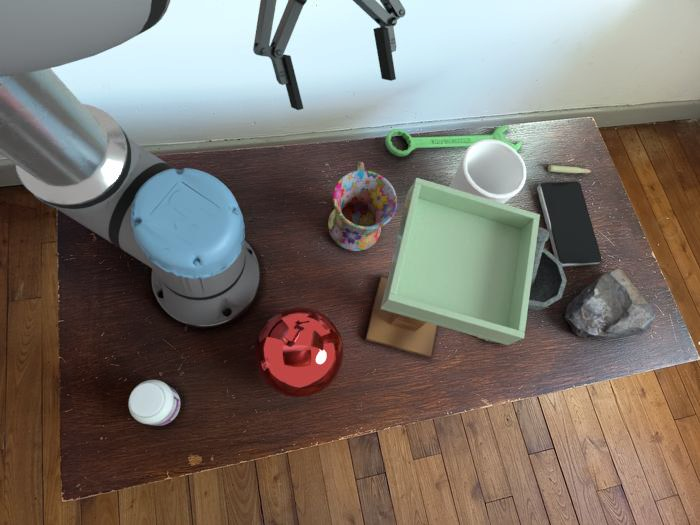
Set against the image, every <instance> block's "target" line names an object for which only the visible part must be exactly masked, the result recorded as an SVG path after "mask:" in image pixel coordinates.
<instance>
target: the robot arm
mask: <svg viewBox="0 0 700 525" xmlns="http://www.w3.org/2000/svg"><path fill="white" fill-rule="evenodd" d="M307 1H308V0H288V1H287V3H286V5H285V7H284V11H283V13H282V16H281V18H280V20H279V23H278V25H277V27H276V30H275V32H274V35H273V38H272V31H273V25H274V19H275V12H276V6H277V0H260V1H259V9H258V15H257V22H256V27H255V35H254V41H253V48H252V51H253V54H255V55H256V56H259V57H266V58H267V57H268V58H269V59H270V60H271V63H272V64H271V65H272V68H273V72H274V75H275V79H276V81H277V83H278V84H279V85H281V86H284V85H285V89H286V92H287V96H288V100H289V103H290V107H291V108H292V109H294V110H297V111H300V110H304V108H305V107H304V104H303V100H302V96H301V93H300V88H299V84H298V81H297V77H296V72H295V69H294V64H293V61H292V56H291V55H289V54H285V51H286V49H287V47H288V45H289V41H290V39H291V37H292V34H293V32H294V30H295V28H296V25H297V22H298V20H299V18H300V15H301V13H302V11H303V8H304V5H306V3H307ZM352 1H353V2H354V3H355V4H356V5H357V6H358V7H359V8H360V9H361V10H362V11H363V12H364V13H365V14H366V15H367V16H369V17H370V18H371V19H372V20H373V21H374V22H375V24H377V25H378V27H375V28H373V35H374V40H375V46H376V53H377V59H378V65H379V71H380V77H381V79H382V80H385V81H390V82H392V81H395V80H396V79H397V77H396V72H395V65H394V58H393V52H396V51H397V42H396V34H395V29H394V27H395V26H396V25H397V23H398V20H399V19H401V18H403V17H405V15H406V8H405V7H404V5H403V3H402V2H401V0H379V2H380V3H379V2H378V1H377V0H352ZM170 4H171V0H0V155H1V156H3V157H5V158H6V159H7V160H9V161H10V162H12V163H13V164H15V171H16V175H17V177H18V179H19V181H20V183H21V184H22V185H23V187H25V188H26V190H28V191H29V192H30V193H32V194H33V196H34V197H35V198H36V199H38V201H41V202H42V203H43V204H46V205H47V206H49V207H51V208H54V209H56V210H58V211H59V212H61V213H62V214H65V215H66V216H67V217H69V218H71V219H72V220H75V222H77V223H79V224H80V225H82V226H83V227H85V228H87V229H88V230H90V231H92V232H93V233H95V234H97V235H98V236H99V237H101V238H103V239H104V240H106V241H108V242H109V243H111V244H112V245H114V246H116V247H117V248H118V249H120V250H122V251H123V252H125V253H127V254H129V255H130V256H131V257H133V258H135V260H138V261H139V262H141V263H142V264H144V265H146V266H148V267H149V268H150V269H151V277H150V278H151V279H150V280H151V288H152V291H153V294H154V296H155V299H156V301H157V302H158V305H160V307H161V308H162V310H164V312H165V313H166V314H167V315H168V316H169V317H171V318H172V319H173V320H174V321H176V322H178V323H180V324H182V325H185V326H187V327H190V328H195V329H214V328H215V329H216V328H218V327H219V328H220V327H222V326H226V325H228V324H230V323H232V322H234V321H236V320H237V319H239V318H240V317H241V316H242V315H244V313H246V312H247V311H248V309H249V308H250V307H251V306H252V304H253V302H255V299H256V297H257V295H258V291H259V287H260V283H261V282H260V281H261V275H260V274H261V272H260V271H261V270H260V264H259V261H258V257H257V255H256V253H255V251H254V250H253V248H252V247H251V245H250V244H249V243H248V242H247V241H246V240H245V238H246V227H245V222H244V216H243V213H242V211H241V209H240V206H239V203H238V201H237V199H236V197H235V195H234V194H233V192H232V191H231V190H230V189H229V188H228V186H227V185H226V184H225V183H223V182H222V181H221V180H219V178H217V177H215V176H214V175H212V174H209V173H208V172H205V171H203V170H202V171H201V170H199V169H195V168H190V167H189V168H187V167H184V168H183V169H177V168H176V167H174V166H172V165H170V164H169V163H167V162H166V161H165V160H163V159H162V158H160V157H158V156H156V155H155V154H153V153H151V152H150V151H148V150H147V149H144V147H141V146H140V145H138V143H136V142H134V141H133V140H132V139H131V138H130V137H129V135H128V134H127V133H126V131H125V130H124V129H123V128H122V127H121V126H120V124H119V123H118V122H117V121H116V120H115V118H113V117H112V115H110V114H108V112H107V111H104V110H103V109H101V108H99V107H97V106H93V105H90V104H85V103H82V102H81V101H80V100H79V99H78V98H77V96H76V95H75V94H74V93H73V92H72V91H71V90H70V89H69V87H68V86H67V85H66V84H65V83H64V81H63V80H62V79H61V78H60V77H59V76H58V75H57V74H56V72H55V71H54V70H53V69H52V68H57V67H61V66H64V65H68V64H72V63H74V62H78V61H81V60H86V59H88V58H91V57H94V56H97V55H99V54H102V53H104V52H107V51H109V50H111V49H114V48H116V47H118V46H121V45H123V44H124V43H126V42H128V41H130V40H132V39H133V38H135V37H138V36H139V35H141V34H143V33H144V32H147V31H148V30H150V29H152V28H153V27H154V26H156V25H157V24H158V23H159V22H160V21H161V20H163V17H164V16H165V14H166V13H167V12H168V8H169V7H170ZM271 38H272V40H271Z"/></svg>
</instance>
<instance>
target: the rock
mask: <svg viewBox="0 0 700 525" xmlns="http://www.w3.org/2000/svg"><path fill="white" fill-rule="evenodd" d="M656 315H657V314H656V312H655V310H653V308H652V307H651V305H650V303H649V302H648V301H647V300H646V299H645V298H644V297H643V295H642V294H641V293H640V291H639V290H638V289H637V287H636V286H635V285H634V284H633V283H632V281H631V280H630V279H629V277H628V276H627V275H626V274H625V272H624V271H623V270H622V268H620V267H619V268H618V267H617V268H616V269H614V270H612V271H609V272H607V273H604V274H601V275H599V277H597V278H596V280H594V281H593V282H592V283H591V284H589V285H588V286H586V287H585V288H584V289H583V290H582V291H581V293H579V294H578V295H576V297H574V299H572V300H571V301H570V302H569V303H568V304H567V306H566V310H565V315H564V319H565V320H566V321H567V322H568V325H569V326H570V327H571V330H572V332H573V334H574V335H576V336H578V337H579V338H580V337H581V338H584V339H586V338H596V339H597V338H599V339H603V340H605V339H615V338H623V337H631V336H635V335H636V336H643V335H644V334H645V333H646V332H647V331H649V330H650V329H651V328H652V326H653V324H654V321H655V319H656Z"/></svg>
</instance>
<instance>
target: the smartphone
mask: <svg viewBox="0 0 700 525" xmlns="http://www.w3.org/2000/svg"><path fill="white" fill-rule="evenodd" d="M536 190H537V193H538V198H539V202H540V206H541V210H542V213H543V217H544V222H545V224H546V230H547V231H548V232H549V240H550V245H551V248H552V252H553V256H554V257H555V258H557V259H558V260H559V261H560V262H561V265H562V268H565V267H576V266H577V267H579V266H589V265H590V266H591V265H598V264H600V263H601V262H602V260H603V257H602V254H601V252H600V247H599V244H598V241H597V237H596V234H595V230H594V227H593V223H592V220H591V217H590V214H589V209H588V206H587V202H586V199H585V195H584V192H583V188H582V185H581V183H580V182H579V181H578V180H577V181H576V180H575V181H557V182H541V183H539V185H538V186H537V187H536Z"/></svg>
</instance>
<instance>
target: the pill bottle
mask: <svg viewBox="0 0 700 525" xmlns="http://www.w3.org/2000/svg"><path fill="white" fill-rule="evenodd" d="M180 408H181V398H180V396H179V394H178V392H177V391H176V390H175V389H174V388H173V387H171V386H170V385H169V384H167V383H165V382H164V381H162V380H158V379H148V380H145V381H143V382H140V383H139V384H138V385H136V386H135V387H134V388H133V390H132V391H131V393H130V395H129V398H128V409H129V413H130V415H131V416H132V417H133V418H134V420H136V421H137V422H138V423H141V424H144V425H149V426H153V427H155V426H156V427H159V426H160V427H162V426H165V425H167V424H169V423H171V422H172V421H174V420H175V419H176V417H177V416H178V414H179V412H180Z"/></svg>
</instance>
